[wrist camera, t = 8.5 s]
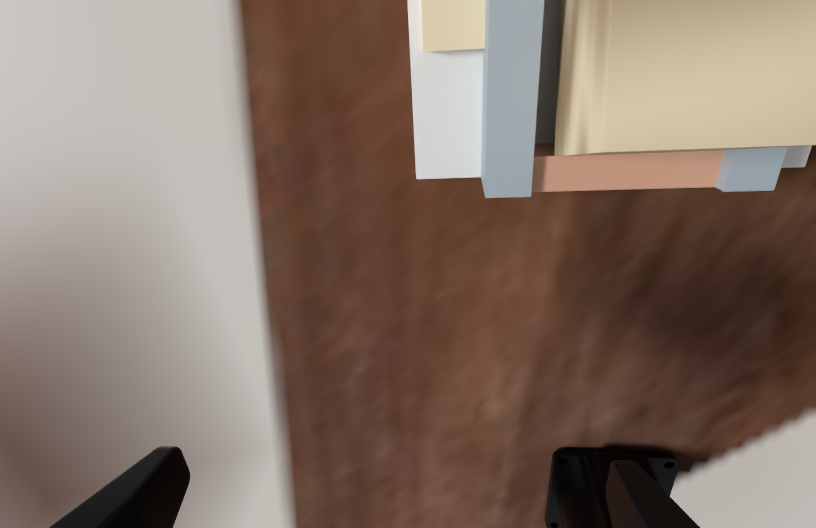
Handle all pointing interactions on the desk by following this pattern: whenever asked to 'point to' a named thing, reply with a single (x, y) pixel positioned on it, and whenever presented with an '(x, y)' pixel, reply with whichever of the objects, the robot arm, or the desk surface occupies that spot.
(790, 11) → the stepped cream block
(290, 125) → the desk surface
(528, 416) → the desk surface
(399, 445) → the desk surface
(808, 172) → the desk surface
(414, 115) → the jig
